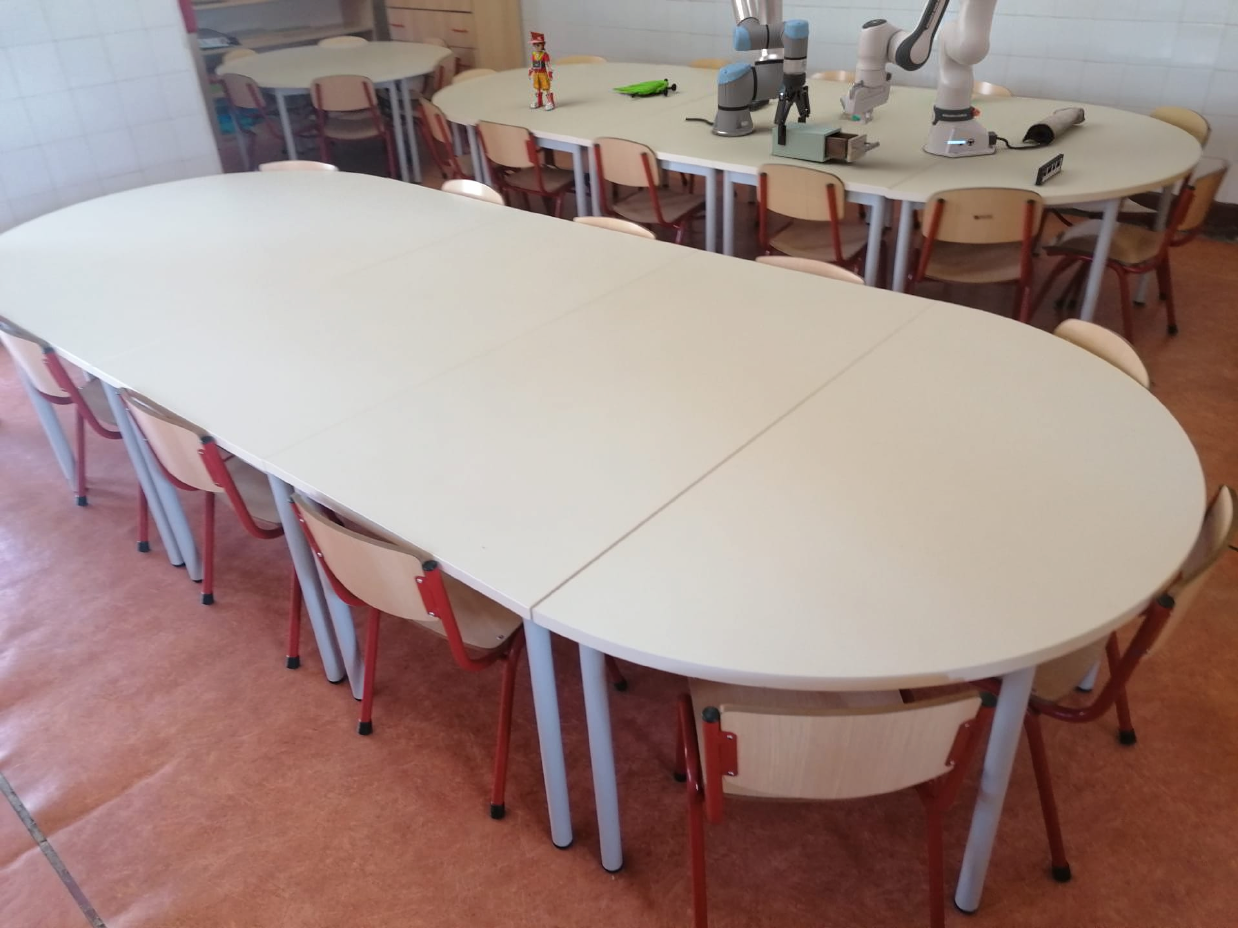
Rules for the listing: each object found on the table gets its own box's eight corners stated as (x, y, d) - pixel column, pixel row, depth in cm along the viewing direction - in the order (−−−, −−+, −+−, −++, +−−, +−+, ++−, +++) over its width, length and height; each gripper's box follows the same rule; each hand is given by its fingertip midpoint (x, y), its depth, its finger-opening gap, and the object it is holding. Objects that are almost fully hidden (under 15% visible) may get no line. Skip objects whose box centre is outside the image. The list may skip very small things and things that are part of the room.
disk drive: (754, 111, 359) (769, 102, 369) (754, 104, 357) (770, 95, 367) (731, 109, 364) (746, 100, 374) (731, 102, 362) (747, 93, 372)
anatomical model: (835, 89, 346) (860, 82, 346) (837, 116, 352) (863, 109, 352) (846, 98, 334) (872, 91, 333) (848, 126, 340) (874, 119, 339)
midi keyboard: (1039, 185, 269) (1043, 168, 266) (1035, 184, 270) (1038, 168, 267) (1060, 170, 279) (1064, 154, 277) (1056, 169, 280) (1060, 153, 277)
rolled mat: (1051, 112, 323) (1076, 94, 315) (1065, 133, 323) (1091, 116, 315) (1017, 135, 306) (1043, 117, 298) (1032, 158, 306) (1058, 140, 298)
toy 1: (525, 109, 381) (517, 32, 364) (534, 104, 388) (527, 28, 371) (550, 110, 377) (543, 32, 360) (559, 105, 384) (553, 28, 367)
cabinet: (840, 154, 303) (841, 127, 298) (822, 162, 297) (823, 134, 292) (790, 147, 316) (790, 121, 311) (772, 154, 310) (772, 128, 305)
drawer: (880, 157, 293) (881, 135, 289) (864, 164, 287) (866, 142, 283) (816, 148, 308) (816, 127, 304) (800, 155, 303) (800, 134, 299)
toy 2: (686, 85, 398) (631, 84, 414) (685, 72, 395) (629, 72, 411) (651, 104, 381) (596, 103, 397) (650, 92, 378) (594, 91, 394)
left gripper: (783, 80, 287) (780, 150, 299) (824, 67, 300) (819, 134, 312) (764, 78, 291) (762, 147, 304) (805, 65, 304) (801, 131, 317)
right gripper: (859, 86, 271) (855, 133, 278) (895, 73, 282) (890, 118, 290) (842, 83, 274) (838, 130, 282) (877, 70, 286) (873, 115, 294)
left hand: (791, 141), depth 308 cm, fingers closed on cabinet, 11 cm apart
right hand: (864, 124), depth 286 cm, fingers closed
